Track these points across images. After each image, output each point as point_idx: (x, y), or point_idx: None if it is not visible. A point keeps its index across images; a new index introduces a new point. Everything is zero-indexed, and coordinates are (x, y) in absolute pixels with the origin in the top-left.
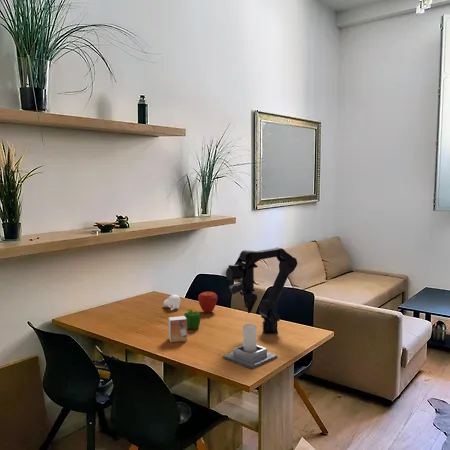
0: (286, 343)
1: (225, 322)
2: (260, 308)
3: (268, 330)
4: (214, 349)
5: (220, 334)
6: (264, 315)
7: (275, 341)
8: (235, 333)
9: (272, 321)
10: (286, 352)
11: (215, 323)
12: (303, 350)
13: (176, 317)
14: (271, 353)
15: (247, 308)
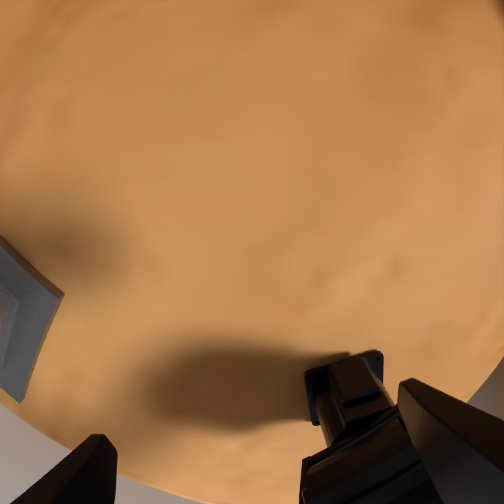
0: (177, 448)
1: (490, 108)
2: (402, 465)
3: (318, 395)
4: (14, 101)
5: (273, 64)
6: (335, 459)
7: (190, 417)
8: (308, 174)
9: (305, 463)
10: (81, 434)
11: (466, 47)
12: (125, 476)
13: None
14: (23, 389)
15: (42, 477)
